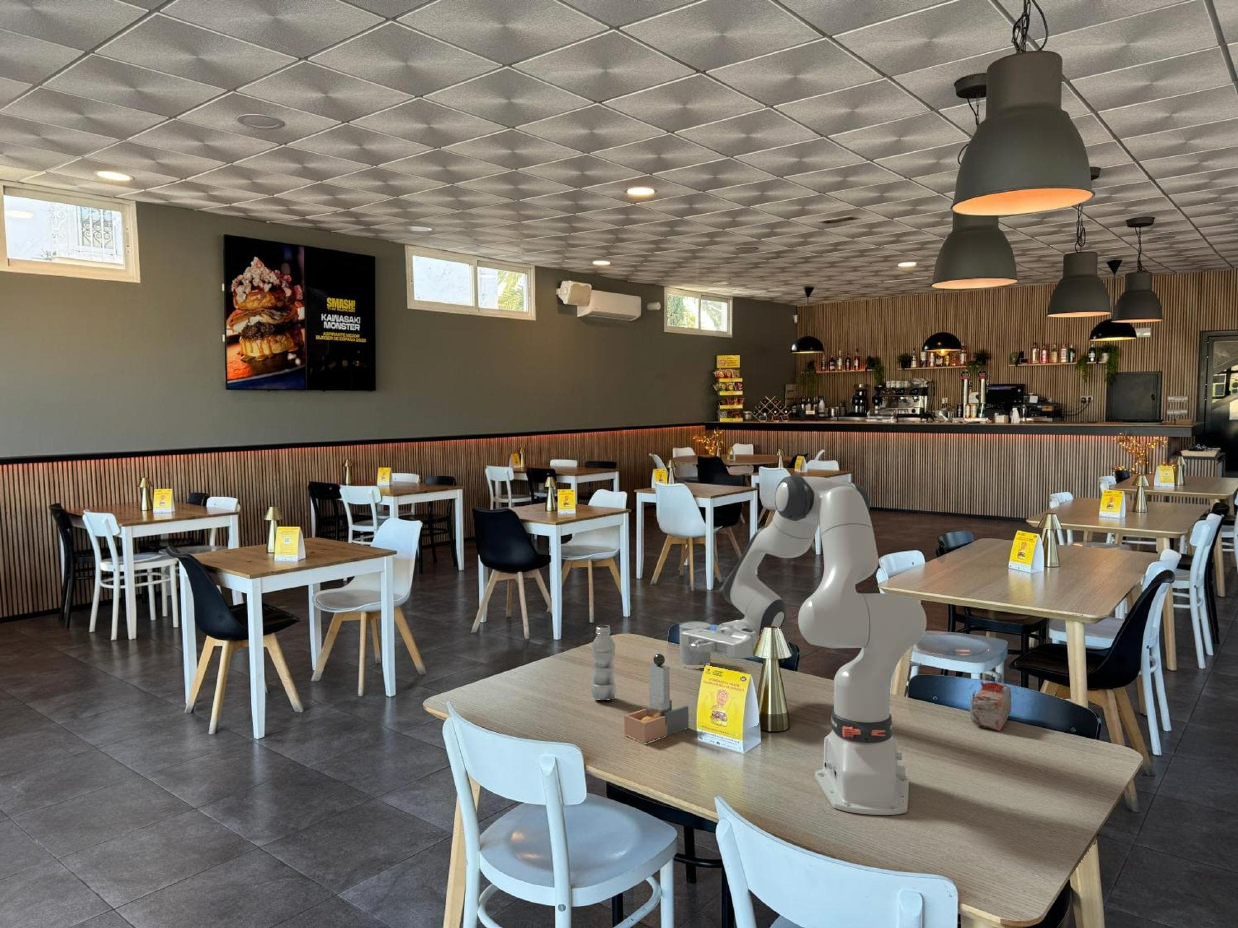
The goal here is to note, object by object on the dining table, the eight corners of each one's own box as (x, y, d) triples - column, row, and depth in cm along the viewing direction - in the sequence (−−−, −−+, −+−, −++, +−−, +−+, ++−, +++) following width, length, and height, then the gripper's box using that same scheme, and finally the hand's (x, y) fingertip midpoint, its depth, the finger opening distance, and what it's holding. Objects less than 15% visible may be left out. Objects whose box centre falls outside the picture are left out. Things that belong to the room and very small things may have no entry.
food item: (1004, 734, 196) (1004, 693, 195) (968, 727, 200) (968, 687, 200) (1013, 716, 207) (1013, 677, 207) (978, 710, 211) (979, 672, 211)
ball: (660, 720, 196) (652, 736, 195) (657, 722, 200) (650, 737, 199) (645, 712, 197) (637, 728, 195) (643, 713, 200) (635, 729, 199)
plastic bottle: (604, 694, 228) (603, 622, 227) (621, 699, 223) (620, 626, 222) (586, 699, 224) (585, 626, 222) (604, 705, 219) (602, 631, 218)
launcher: (669, 720, 207) (669, 699, 207) (688, 728, 202) (688, 706, 202) (647, 728, 202) (647, 706, 202) (666, 736, 197) (666, 713, 197)
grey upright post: (656, 714, 203) (656, 650, 202) (671, 719, 199) (670, 654, 198) (646, 717, 201) (645, 653, 200) (660, 723, 197) (660, 657, 196)
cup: (646, 728, 202) (646, 708, 202) (667, 736, 197) (667, 715, 197) (624, 735, 198) (624, 715, 197) (644, 744, 192) (644, 723, 192)
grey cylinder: (678, 668, 250) (677, 628, 250) (681, 659, 260) (680, 620, 259) (709, 669, 249) (709, 629, 248) (711, 660, 258) (711, 621, 257)
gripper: (702, 620, 224) (665, 628, 215) (761, 633, 208) (724, 642, 199) (702, 643, 224) (665, 653, 215) (761, 658, 208) (724, 668, 199)
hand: (694, 648), depth 207 cm, fingers closed
